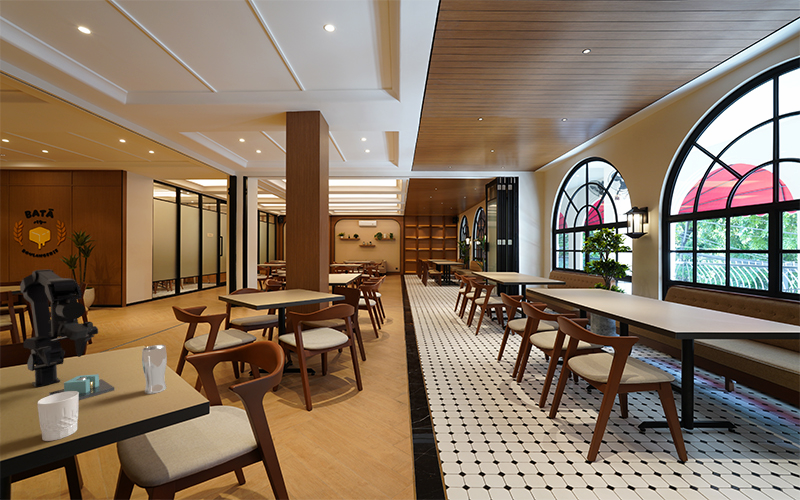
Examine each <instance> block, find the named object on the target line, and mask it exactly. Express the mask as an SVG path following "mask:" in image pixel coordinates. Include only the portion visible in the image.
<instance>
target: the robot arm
mask: <svg viewBox="0 0 800 500" xmlns="http://www.w3.org/2000/svg"><path fill="white" fill-rule="evenodd" d="M20 282H21V283H20V284H19V289H20V292H21V293H22V295H23V296H22V297H23V298H24V299H25V300H26V301H27V302H29V303H30V307H31V314H32V321H33V328H34V329H33V330H34V336H33V337H29V338H26V339H25V340H24V341H23V348H24V349H28V350H30V353H31V354H30V355H29V357H28V360H27V369H28V370H30V371H31V372H33V371H34V380H35V381H34V382H32V385H33V386H34V387H35V388H38V387H45V386H47V385H52V384H56V383H59V382H61V380H60V379H59V378H58V369H57V366H59V365H63V364H64V363H65V362H64V360H65V353H66V351H65V350H64V349H63V348H62V345H61V340H65V339H69V340H72V341H74V346H75V347H74V348H75V353H76V356H77V357H78V358H81V357H82V355H83V352H84V350H85V347H86V345H87V344H88V341H90V340H91V339H92V338H94V337H95V335H97V334H99V328H98V327H97V326H95V325H94V322H92V321H90V320H89V321H85V322H83V323H80V322H79V318H81V317H82V316H83V315H84V314H85V312H86V307H85V306H84V304H82V303H81V302H79V301H78V300H81V299H82V298H83V297H82V296H83V291H82V290H81V287H80V285H79V283H78V282H77V281H76V280H75V279H73V278H64V277H61V276H59V275H58V274H56V273H55V272H54V269H36V270H33V271H32V273H31V274H30V275H27V276H26V277H23V278H22V280H21V281H20ZM49 302H50V305H49Z"/></svg>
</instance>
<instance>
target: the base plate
mask: <svg viewBox="0 0 800 500" xmlns="http://www.w3.org/2000/svg"><path fill="white" fill-rule="evenodd" d="M85 379H86V377H82V378H78V379H77V380H85ZM113 391H115V386H113V385H112V384H110V383H108V382H107V381H106V380H104V379H103V378H102V379H101V378H99V386H97V387H96V388H93V381H90V391H89V392H87V393H80V394H79V401H82V400H85V399H88V398H89V399H90V398H92V397H94V396H99V395H103V394H106V393H109V392H113ZM62 392H64V388H62V389H58V390H54V391H51V392H48V396H50V395H53V394H57V393H62Z"/></svg>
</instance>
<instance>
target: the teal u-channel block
mask: <svg viewBox="0 0 800 500" xmlns="http://www.w3.org/2000/svg"><path fill="white" fill-rule="evenodd" d="M82 377H86V379H85V380H77V379H78V378H82ZM99 380H100V376H99V373H98V374H97V373H95V374H86V375H77V376H75V377H73V378H71V379H69V380H67V381H64V382H63V389H64V392H68V391H77V392H79V394H80V393H87V392H89V391H90V381H93V388H96V387H97V386H99Z"/></svg>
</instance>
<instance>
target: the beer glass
mask: <svg viewBox="0 0 800 500" xmlns="http://www.w3.org/2000/svg"><path fill="white" fill-rule="evenodd" d="M166 348H167V347H166V344H156V345H149V346H145V347H143V348H142V350H141V351H142V352H141V353H142V354H141V363H142V364H141V365H142V370H143V374H144V379H145V388H144V394H146V395H153V394H154V395H155V394H159V393H161V392H163V391H165V390H166V389H167V384H166V381H165V375H166V369H167V359H168V358H167V357H168V355H167V349H166Z"/></svg>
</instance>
